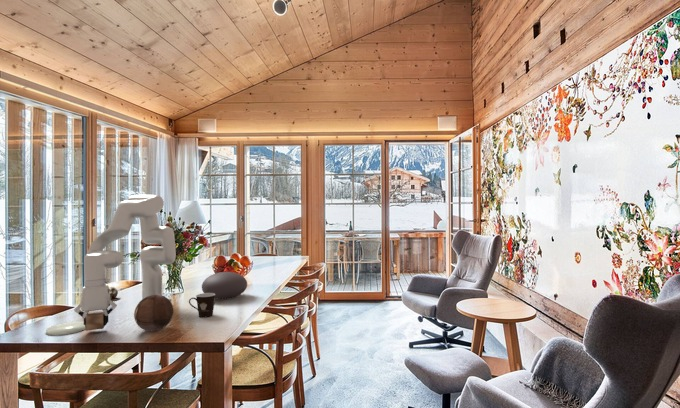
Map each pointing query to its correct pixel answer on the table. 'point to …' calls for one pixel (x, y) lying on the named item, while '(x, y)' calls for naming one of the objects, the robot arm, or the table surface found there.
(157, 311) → the wooden sphere
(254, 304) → the table surface
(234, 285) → the flattened ellipsoid
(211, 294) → the coffee mug
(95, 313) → the walnut cube
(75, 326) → the sage plate
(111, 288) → the skull
